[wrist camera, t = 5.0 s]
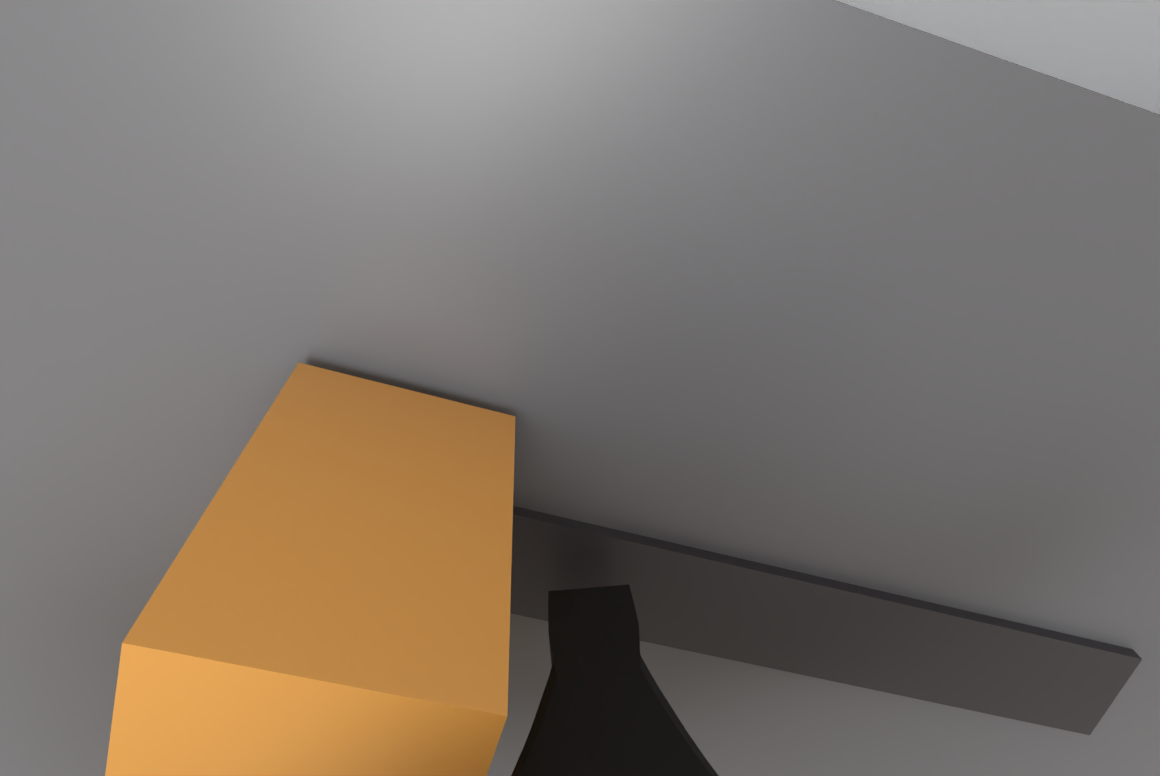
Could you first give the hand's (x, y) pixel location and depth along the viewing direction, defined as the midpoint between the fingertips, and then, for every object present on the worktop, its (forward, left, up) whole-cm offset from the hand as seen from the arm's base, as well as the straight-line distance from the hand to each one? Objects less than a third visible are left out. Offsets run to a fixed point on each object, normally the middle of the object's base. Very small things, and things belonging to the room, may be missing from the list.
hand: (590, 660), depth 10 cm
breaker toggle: (+3, 0, -1) cm, 3 cm away
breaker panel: (-1, 0, -4) cm, 4 cm away
